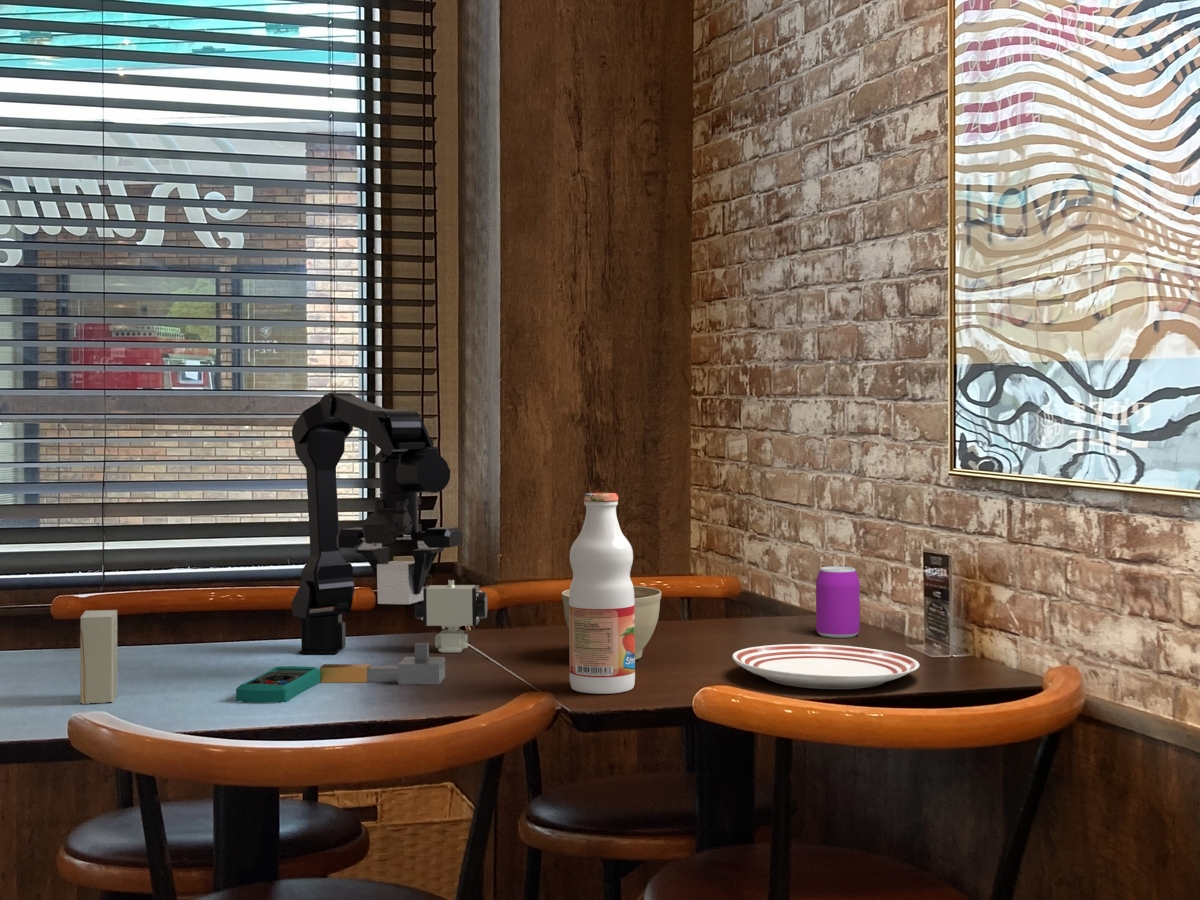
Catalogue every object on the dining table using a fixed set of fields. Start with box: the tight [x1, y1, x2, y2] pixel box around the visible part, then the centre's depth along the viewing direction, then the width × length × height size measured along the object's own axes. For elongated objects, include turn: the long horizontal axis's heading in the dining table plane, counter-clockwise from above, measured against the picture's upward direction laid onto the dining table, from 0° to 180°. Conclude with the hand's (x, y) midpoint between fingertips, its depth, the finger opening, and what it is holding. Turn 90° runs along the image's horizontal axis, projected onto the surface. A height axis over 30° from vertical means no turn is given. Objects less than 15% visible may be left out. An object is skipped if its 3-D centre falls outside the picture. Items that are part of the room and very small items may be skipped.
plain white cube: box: [376, 560, 424, 605], centre depth 197 cm, size 5×5×6 cm
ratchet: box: [319, 642, 446, 686], centre depth 192 cm, size 18×6×6 cm, turn 88°
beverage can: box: [815, 565, 861, 639], centre depth 230 cm, size 8×8×12 cm
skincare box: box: [79, 609, 118, 705], centre depth 180 cm, size 6×4×12 cm
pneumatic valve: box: [414, 579, 489, 654], centre depth 217 cm, size 6×12×12 cm, turn 89°
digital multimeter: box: [235, 665, 321, 704], centre depth 184 cm, size 7×15×3 cm, turn 172°
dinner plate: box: [731, 643, 920, 690], centre depth 192 cm, size 28×27×3 cm
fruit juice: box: [568, 492, 636, 695], centre depth 185 cm, size 9×9×28 cm
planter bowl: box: [561, 585, 662, 661], centre depth 209 cm, size 16×16×11 cm
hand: (400, 594), depth 197 cm, fingers closed on plain white cube, 5 cm apart
